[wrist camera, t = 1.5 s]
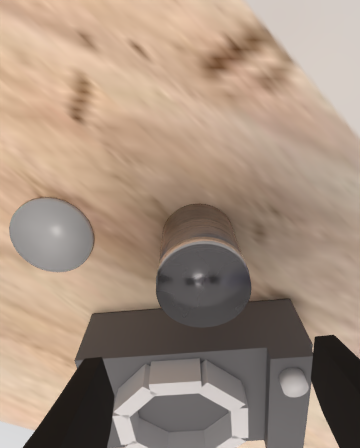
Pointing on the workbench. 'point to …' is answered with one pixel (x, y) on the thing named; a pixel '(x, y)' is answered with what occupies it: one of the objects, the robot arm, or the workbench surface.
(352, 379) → the robot arm
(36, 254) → the grey domed disc
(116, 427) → the camera body
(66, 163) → the workbench surface
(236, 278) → the lens
